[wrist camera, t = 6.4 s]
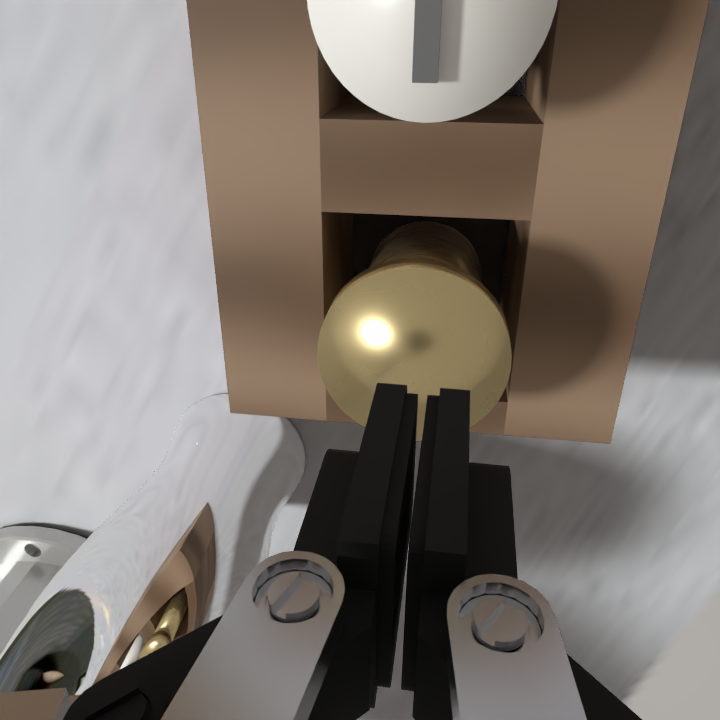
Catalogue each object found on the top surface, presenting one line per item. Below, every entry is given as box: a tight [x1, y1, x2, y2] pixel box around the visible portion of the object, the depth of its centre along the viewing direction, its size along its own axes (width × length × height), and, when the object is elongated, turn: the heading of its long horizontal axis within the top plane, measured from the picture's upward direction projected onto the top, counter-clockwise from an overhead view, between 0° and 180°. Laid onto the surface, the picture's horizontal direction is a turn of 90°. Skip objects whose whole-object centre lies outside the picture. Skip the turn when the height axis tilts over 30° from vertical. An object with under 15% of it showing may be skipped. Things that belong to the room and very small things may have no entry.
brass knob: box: [317, 221, 512, 441], centre depth 19 cm, size 5×5×6 cm
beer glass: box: [0, 394, 305, 695], centre depth 23 cm, size 7×7×15 cm
